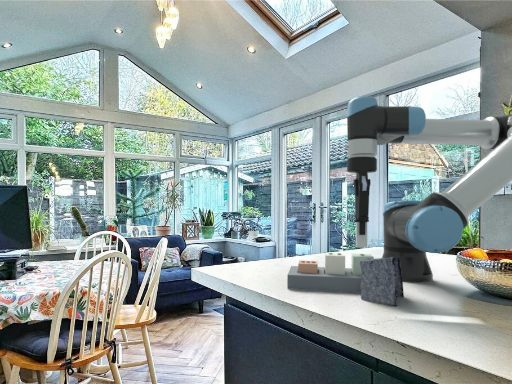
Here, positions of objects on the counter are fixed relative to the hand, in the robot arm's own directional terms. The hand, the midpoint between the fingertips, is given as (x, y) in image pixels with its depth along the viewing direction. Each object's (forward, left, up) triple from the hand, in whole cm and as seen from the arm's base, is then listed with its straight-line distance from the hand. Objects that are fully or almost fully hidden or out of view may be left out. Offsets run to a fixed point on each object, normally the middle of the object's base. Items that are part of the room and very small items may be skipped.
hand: (361, 247), depth 91 cm
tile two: (+7, 0, -7) cm, 10 cm away
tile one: (0, 0, -7) cm, 7 cm away
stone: (-3, +10, -12) cm, 16 cm away
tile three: (+14, 0, -10) cm, 17 cm away
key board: (+7, 0, -11) cm, 13 cm away
